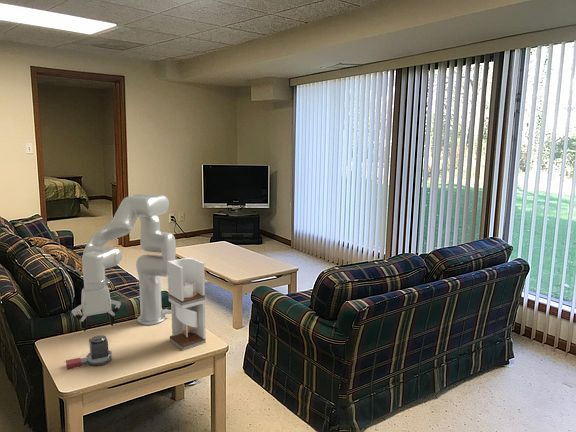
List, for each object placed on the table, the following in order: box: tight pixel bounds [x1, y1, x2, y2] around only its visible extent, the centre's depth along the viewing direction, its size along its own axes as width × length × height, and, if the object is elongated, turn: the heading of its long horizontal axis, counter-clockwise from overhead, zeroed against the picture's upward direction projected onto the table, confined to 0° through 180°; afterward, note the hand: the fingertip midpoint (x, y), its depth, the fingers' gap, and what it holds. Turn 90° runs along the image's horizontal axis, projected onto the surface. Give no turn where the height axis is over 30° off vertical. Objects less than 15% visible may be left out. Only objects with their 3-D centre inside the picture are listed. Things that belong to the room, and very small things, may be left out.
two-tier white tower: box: [167, 256, 207, 351], centre depth 191 cm, size 11×11×35 cm
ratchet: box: [65, 349, 113, 371], centre depth 175 cm, size 16×9×6 cm, turn 120°
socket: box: [88, 334, 109, 360], centre depth 176 cm, size 6×6×7 cm
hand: (98, 327), depth 175 cm, fingers open, 9 cm apart
